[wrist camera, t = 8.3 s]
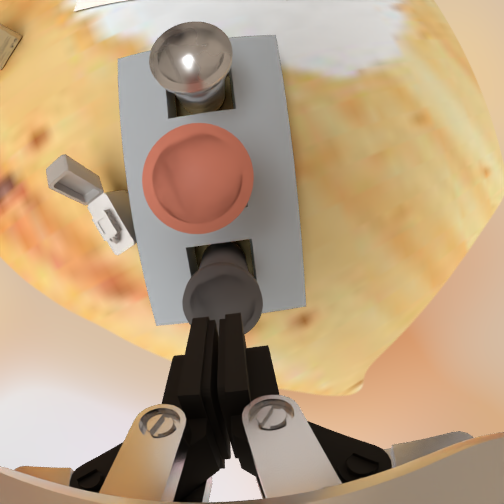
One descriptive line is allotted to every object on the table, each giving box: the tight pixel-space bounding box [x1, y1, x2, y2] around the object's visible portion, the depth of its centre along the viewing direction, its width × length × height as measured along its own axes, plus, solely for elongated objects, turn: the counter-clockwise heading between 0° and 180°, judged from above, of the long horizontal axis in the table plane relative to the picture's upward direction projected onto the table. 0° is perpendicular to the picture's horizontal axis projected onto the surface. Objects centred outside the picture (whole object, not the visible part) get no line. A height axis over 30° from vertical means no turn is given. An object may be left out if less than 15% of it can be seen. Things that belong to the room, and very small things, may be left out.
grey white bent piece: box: [46, 154, 137, 255], centre depth 18 cm, size 7×2×8 cm, turn 29°
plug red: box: [142, 123, 254, 234], centre depth 15 cm, size 4×4×8 cm
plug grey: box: [149, 22, 233, 114], centre depth 16 cm, size 4×4×8 cm
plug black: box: [182, 242, 263, 335], centre depth 19 cm, size 4×4×8 cm
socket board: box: [118, 35, 306, 326], centre depth 20 cm, size 11×20×4 cm, turn 7°
